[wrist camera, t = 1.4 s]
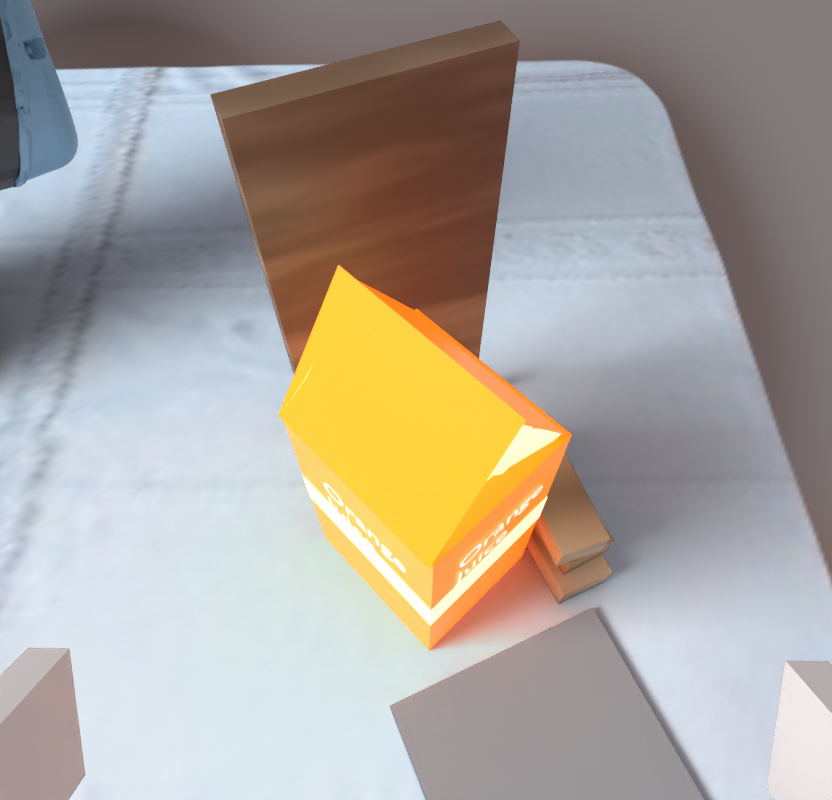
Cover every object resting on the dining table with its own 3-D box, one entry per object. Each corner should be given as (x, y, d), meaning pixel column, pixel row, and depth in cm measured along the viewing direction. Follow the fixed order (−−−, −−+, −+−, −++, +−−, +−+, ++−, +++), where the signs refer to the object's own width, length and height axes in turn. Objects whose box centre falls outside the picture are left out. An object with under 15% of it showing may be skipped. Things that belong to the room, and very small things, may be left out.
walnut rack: (296, 401, 43) (184, 37, 23) (464, 339, 46) (498, -36, 25) (409, 674, 34) (390, 483, 14) (609, 579, 37) (845, 297, 16)
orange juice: (419, 456, 41) (417, 209, 24) (524, 555, 37) (611, 349, 20) (322, 539, 38) (242, 326, 21) (427, 654, 35) (433, 512, 18)
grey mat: (390, 706, 33) (389, 705, 33) (591, 609, 36) (592, 607, 35) (500, 992, 27) (501, 994, 27) (731, 851, 30) (734, 852, 30)
